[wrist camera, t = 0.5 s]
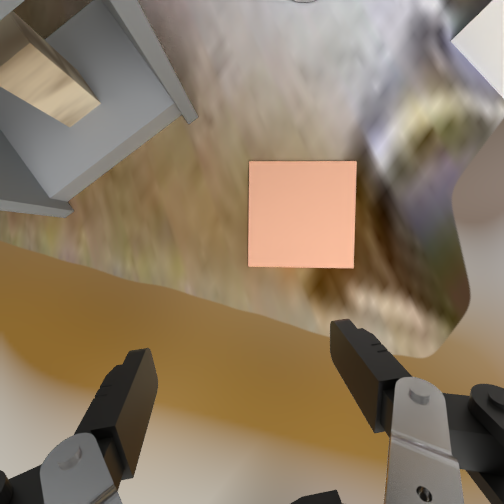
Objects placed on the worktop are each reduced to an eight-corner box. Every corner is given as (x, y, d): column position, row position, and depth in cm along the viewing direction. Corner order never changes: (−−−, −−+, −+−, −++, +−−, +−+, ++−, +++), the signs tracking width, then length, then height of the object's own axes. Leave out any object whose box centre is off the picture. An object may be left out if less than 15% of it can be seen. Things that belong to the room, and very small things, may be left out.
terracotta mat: (249, 162, 35) (249, 161, 35) (354, 162, 35) (356, 161, 34) (248, 266, 36) (248, 266, 35) (352, 267, 35) (353, 268, 35)
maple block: (46, 94, 33) (-48, 31, 23) (77, 70, 33) (-5, -5, 23) (70, 127, 33) (-14, 78, 23) (101, 103, 33) (29, 42, 23)
